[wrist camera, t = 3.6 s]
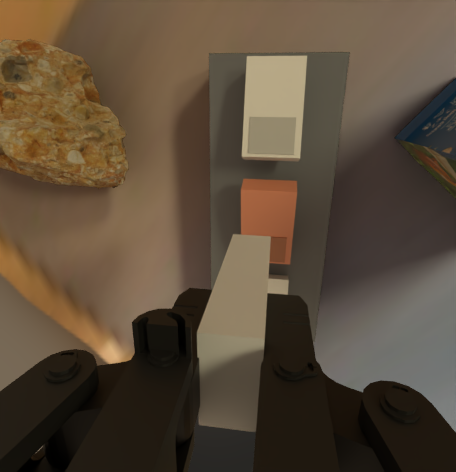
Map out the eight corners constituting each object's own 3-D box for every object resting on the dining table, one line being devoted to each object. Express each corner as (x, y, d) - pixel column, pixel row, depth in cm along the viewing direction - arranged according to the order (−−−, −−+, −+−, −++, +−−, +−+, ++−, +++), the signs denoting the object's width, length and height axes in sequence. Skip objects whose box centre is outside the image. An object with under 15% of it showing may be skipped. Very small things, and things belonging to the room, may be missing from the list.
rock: (24, 154, 33) (-78, 172, 23) (34, 36, 29) (-84, 2, 20) (141, 196, 32) (84, 231, 23) (167, 82, 29) (111, 70, 19)
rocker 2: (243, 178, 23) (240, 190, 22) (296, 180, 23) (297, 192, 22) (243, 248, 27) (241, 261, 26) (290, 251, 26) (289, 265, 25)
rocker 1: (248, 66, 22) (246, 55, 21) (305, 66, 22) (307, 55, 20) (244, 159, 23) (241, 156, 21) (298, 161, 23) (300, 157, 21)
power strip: (219, 62, 27) (205, 52, 22) (338, 61, 26) (351, 50, 21) (219, 341, 37) (208, 379, 32) (305, 350, 36) (309, 392, 31)
